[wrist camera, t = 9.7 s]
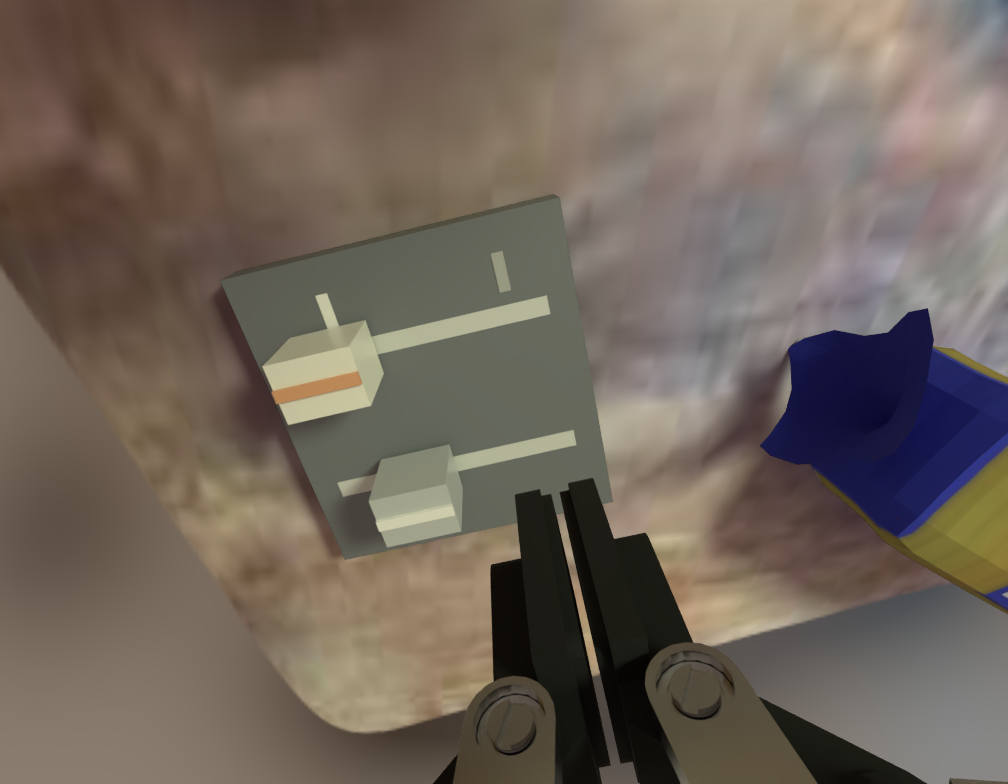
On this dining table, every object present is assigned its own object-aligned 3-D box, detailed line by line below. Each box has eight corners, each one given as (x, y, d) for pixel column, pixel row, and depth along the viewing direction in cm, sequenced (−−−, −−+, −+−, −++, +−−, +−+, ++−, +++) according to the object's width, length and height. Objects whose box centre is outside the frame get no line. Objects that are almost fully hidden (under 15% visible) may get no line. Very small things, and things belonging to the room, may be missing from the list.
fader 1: (365, 320, 28) (348, 347, 24) (383, 373, 29) (370, 407, 25) (289, 337, 28) (260, 368, 24) (311, 390, 29) (286, 426, 25)
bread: (979, 568, 40) (1132, 697, 31) (722, 416, 34) (817, 521, 25) (1100, 464, 37) (1315, 573, 27) (840, 275, 31) (1003, 333, 21)
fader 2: (449, 444, 31) (445, 486, 27) (462, 487, 32) (461, 533, 28) (381, 459, 31) (367, 503, 27) (397, 502, 32) (386, 549, 29)
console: (553, 194, 28) (559, 197, 26) (605, 483, 35) (613, 502, 34) (236, 271, 29) (219, 280, 27) (351, 538, 36) (344, 560, 34)
